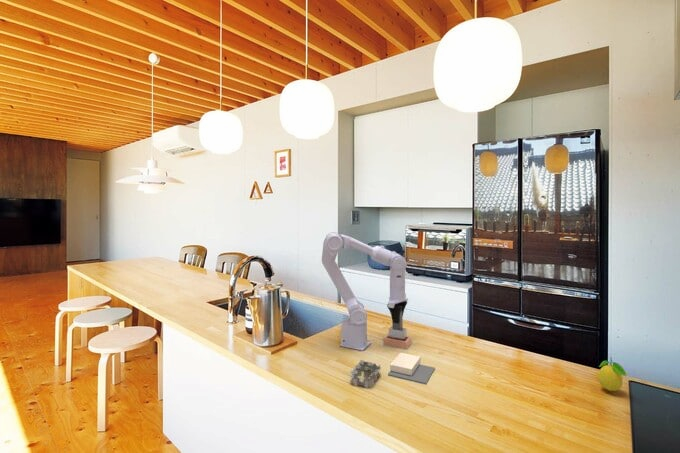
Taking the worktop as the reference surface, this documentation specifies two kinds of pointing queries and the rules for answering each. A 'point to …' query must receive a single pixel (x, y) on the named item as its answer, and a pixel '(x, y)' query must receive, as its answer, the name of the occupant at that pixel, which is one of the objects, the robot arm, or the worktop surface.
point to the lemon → (611, 376)
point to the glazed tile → (405, 364)
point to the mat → (416, 374)
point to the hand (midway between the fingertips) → (397, 321)
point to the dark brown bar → (398, 329)
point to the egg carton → (365, 374)
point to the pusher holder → (397, 341)
